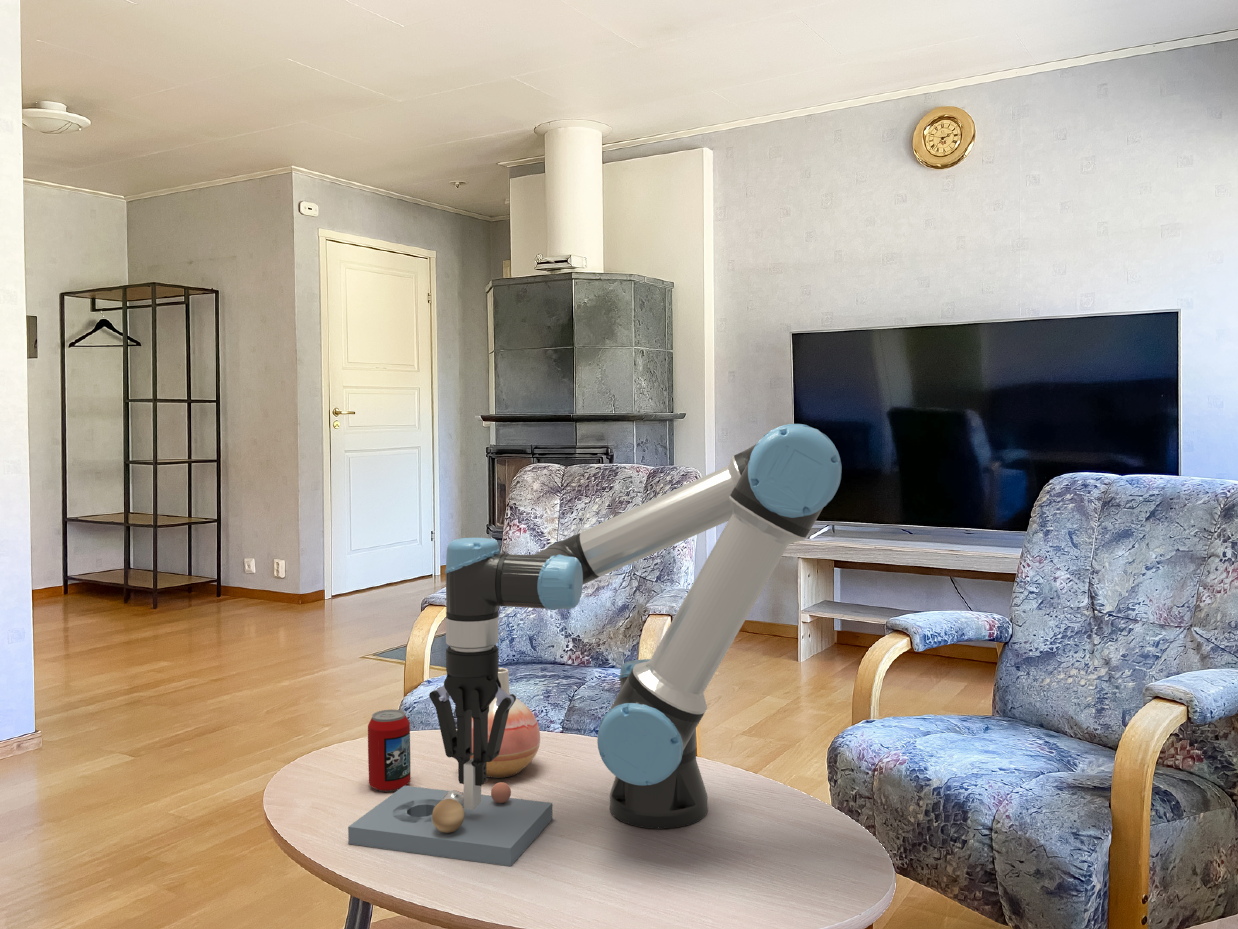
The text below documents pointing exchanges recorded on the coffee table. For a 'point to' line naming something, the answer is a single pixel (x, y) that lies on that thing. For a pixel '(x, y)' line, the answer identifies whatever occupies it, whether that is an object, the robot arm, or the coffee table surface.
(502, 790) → the rubber ball
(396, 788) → the beverage can
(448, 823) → the wooden ball
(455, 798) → the steel ball
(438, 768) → the coffee table surface
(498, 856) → the plate
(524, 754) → the vase
